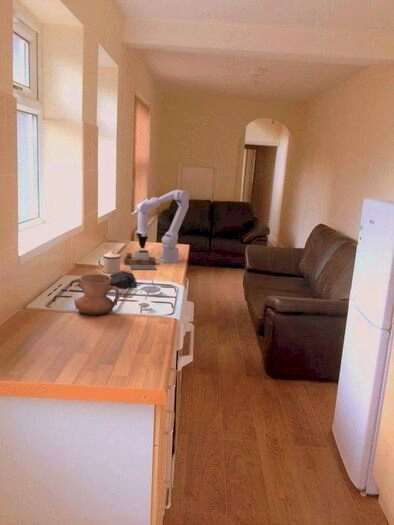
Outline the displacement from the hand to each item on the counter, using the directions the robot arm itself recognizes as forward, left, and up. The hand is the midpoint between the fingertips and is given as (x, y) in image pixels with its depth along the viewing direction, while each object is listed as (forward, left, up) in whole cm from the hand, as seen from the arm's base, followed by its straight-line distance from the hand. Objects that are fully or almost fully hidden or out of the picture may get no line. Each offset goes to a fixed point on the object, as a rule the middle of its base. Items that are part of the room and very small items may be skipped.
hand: (141, 246), depth 264 cm
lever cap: (0, 0, -7) cm, 7 cm away
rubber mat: (0, +11, -10) cm, 15 cm away
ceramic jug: (+25, +85, -10) cm, 90 cm away
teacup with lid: (+19, +20, -10) cm, 29 cm away
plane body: (+1, 0, -10) cm, 10 cm away
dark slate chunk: (+13, +41, -11) cm, 44 cm away
